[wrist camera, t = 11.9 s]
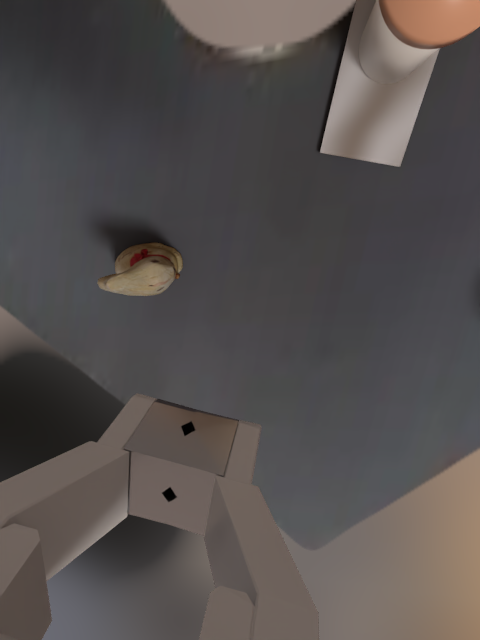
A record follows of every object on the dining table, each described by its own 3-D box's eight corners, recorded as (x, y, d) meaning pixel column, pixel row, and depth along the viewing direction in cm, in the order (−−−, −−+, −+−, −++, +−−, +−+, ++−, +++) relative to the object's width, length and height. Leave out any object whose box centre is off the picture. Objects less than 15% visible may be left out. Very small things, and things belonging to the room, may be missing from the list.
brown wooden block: (270, 144, 31) (260, 138, 24) (326, -164, 23) (334, -301, 16) (450, 176, 30) (492, 179, 23) (577, -141, 22) (700, -281, 15)
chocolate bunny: (180, 296, 39) (142, 335, 30) (117, 271, 39) (61, 302, 30) (193, 252, 37) (156, 280, 28) (126, 225, 37) (68, 244, 28)
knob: (342, 84, 28) (366, 30, 17) (366, -12, 25) (413, -155, 14) (417, 96, 27) (495, 48, 16) (450, -1, 25) (569, -140, 13)
